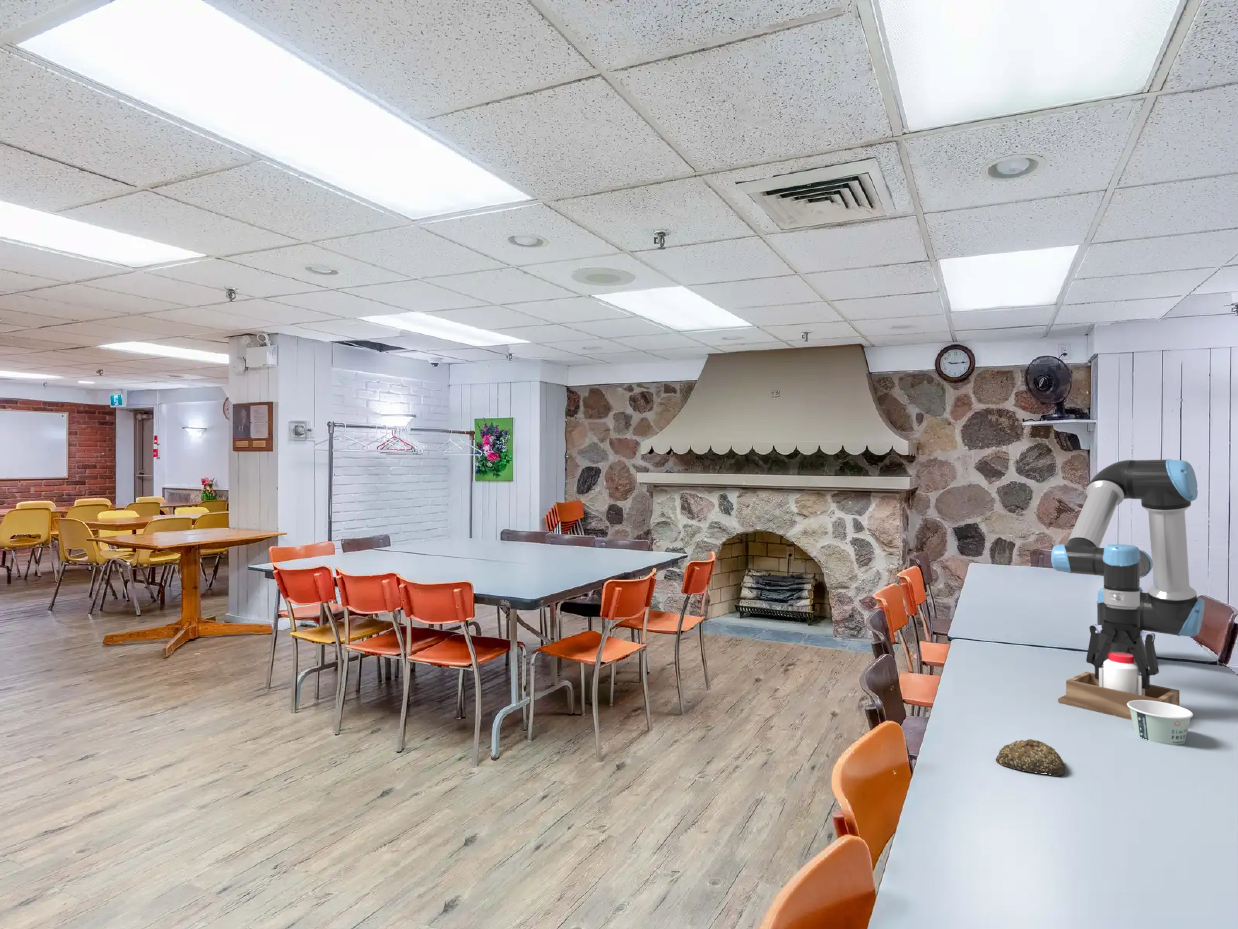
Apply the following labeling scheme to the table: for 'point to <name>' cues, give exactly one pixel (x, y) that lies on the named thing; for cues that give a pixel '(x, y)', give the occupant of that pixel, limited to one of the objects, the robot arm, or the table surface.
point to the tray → (1110, 696)
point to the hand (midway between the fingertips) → (1121, 696)
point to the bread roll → (1031, 757)
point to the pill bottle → (1121, 672)
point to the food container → (1160, 721)
